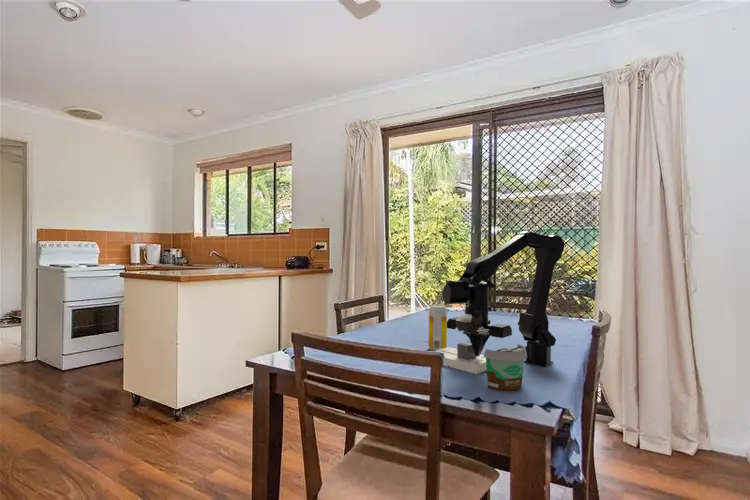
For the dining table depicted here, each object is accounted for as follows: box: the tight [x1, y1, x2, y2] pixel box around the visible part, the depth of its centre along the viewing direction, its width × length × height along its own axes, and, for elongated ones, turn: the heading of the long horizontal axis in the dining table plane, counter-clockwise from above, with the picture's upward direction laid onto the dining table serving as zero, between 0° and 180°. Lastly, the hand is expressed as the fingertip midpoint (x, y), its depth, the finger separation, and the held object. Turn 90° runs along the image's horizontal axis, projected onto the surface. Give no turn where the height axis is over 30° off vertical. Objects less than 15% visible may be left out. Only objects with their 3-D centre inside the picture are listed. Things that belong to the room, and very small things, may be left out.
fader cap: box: [456, 341, 477, 360], centre depth 122 cm, size 4×5×4 cm
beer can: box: [428, 304, 448, 352], centre depth 140 cm, size 6×6×15 cm
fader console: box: [435, 346, 487, 375], centre depth 123 cm, size 18×11×2 cm, turn 44°
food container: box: [483, 343, 527, 393], centre depth 102 cm, size 12×6×10 cm, turn 117°
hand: (477, 356), depth 119 cm, fingers closed
